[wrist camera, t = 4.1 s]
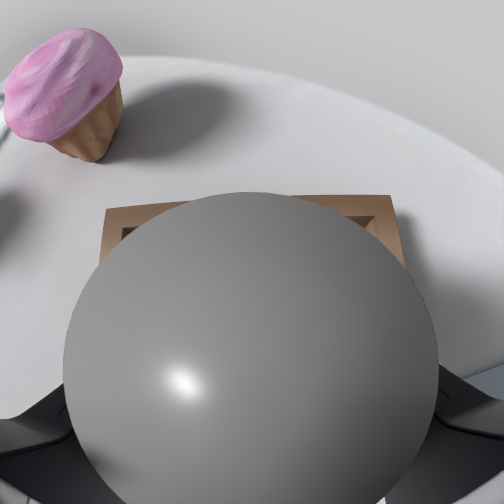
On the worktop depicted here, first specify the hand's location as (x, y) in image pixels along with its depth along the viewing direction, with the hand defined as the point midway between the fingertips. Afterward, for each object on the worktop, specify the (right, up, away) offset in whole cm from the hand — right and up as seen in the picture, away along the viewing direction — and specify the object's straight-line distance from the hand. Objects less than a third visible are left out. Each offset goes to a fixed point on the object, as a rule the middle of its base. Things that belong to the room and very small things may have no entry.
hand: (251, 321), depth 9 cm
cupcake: (-12, +11, +11) cm, 20 cm away
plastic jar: (0, -3, +6) cm, 7 cm away
